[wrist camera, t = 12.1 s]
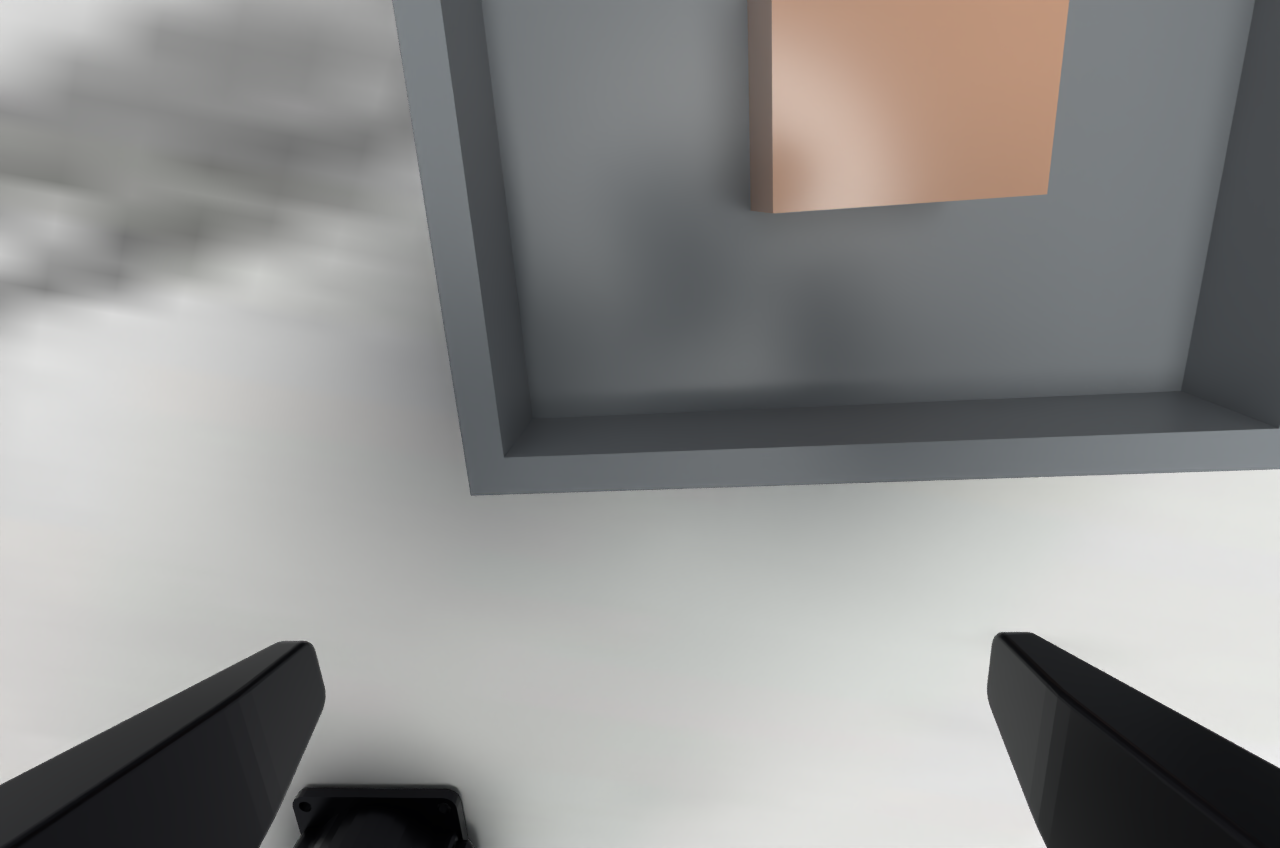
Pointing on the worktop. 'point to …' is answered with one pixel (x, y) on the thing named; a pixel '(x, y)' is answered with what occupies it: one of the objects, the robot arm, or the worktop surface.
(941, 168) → the brown block
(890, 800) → the worktop surface
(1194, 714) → the worktop surface
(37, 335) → the worktop surface
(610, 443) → the bin
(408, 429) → the worktop surface
